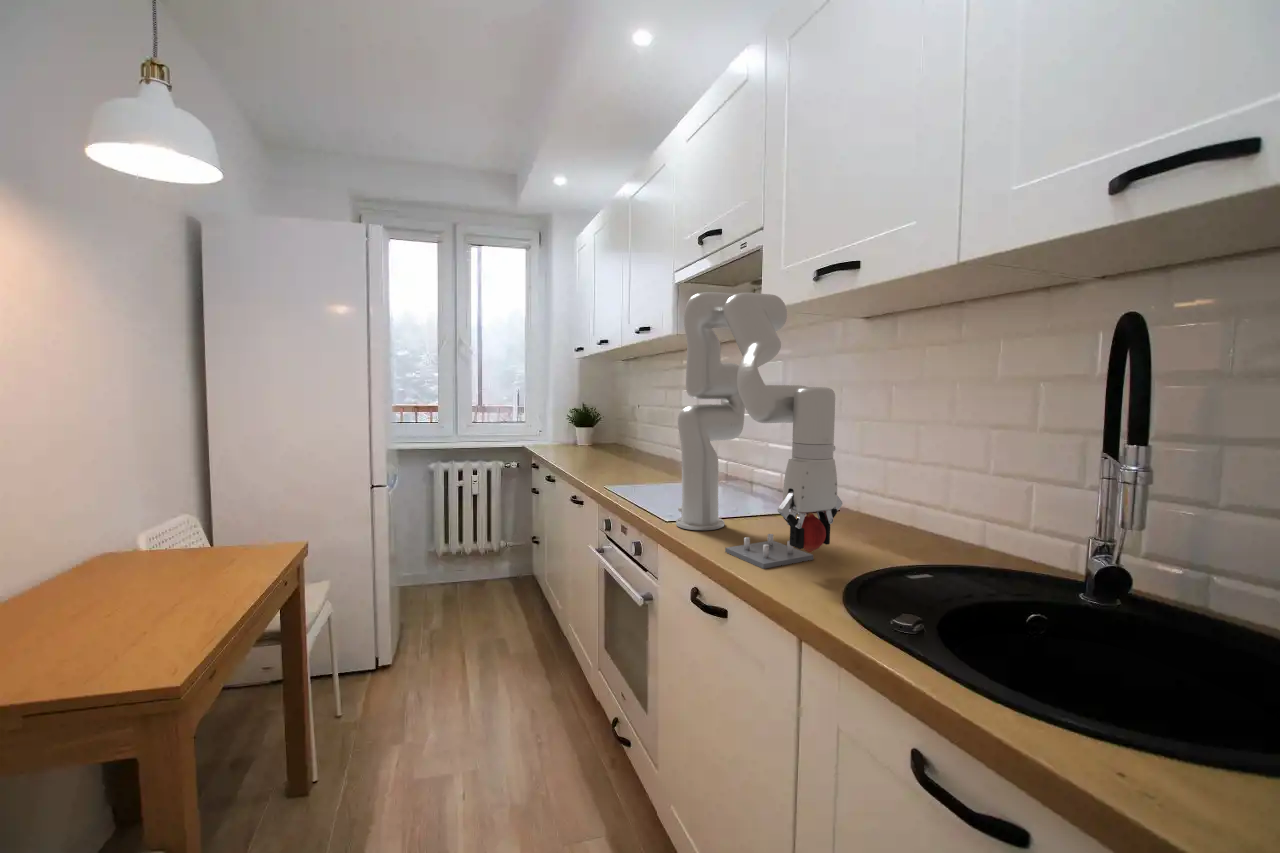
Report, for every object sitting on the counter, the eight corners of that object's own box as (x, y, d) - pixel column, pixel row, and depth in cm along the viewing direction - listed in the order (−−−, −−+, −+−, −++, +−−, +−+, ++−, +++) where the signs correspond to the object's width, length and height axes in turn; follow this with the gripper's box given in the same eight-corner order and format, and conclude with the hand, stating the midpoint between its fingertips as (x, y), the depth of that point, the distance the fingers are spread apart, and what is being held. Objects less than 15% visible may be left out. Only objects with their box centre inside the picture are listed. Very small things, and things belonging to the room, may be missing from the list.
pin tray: (725, 552, 123) (725, 536, 122) (772, 544, 128) (772, 529, 128) (763, 568, 111) (763, 551, 111) (813, 559, 117) (813, 543, 117)
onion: (810, 546, 112) (811, 506, 112) (831, 554, 107) (833, 513, 107) (787, 549, 110) (788, 509, 109) (808, 558, 105) (809, 516, 104)
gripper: (831, 447, 114) (828, 534, 116) (763, 452, 106) (761, 545, 108) (860, 452, 107) (857, 544, 109) (790, 457, 100) (788, 556, 101)
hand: (809, 544), depth 108 cm, fingers closed on onion, 5 cm apart
